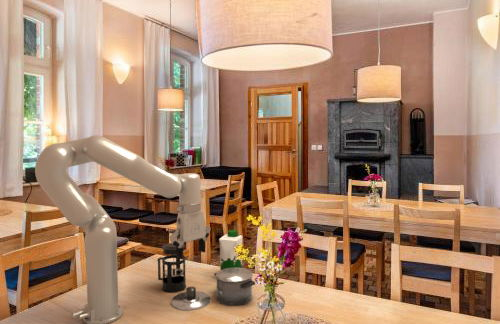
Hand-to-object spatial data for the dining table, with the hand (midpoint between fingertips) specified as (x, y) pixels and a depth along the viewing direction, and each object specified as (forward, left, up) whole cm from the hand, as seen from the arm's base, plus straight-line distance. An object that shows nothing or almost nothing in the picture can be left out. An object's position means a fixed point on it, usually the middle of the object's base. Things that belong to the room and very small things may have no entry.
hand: (191, 254), depth 129 cm
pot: (+13, -9, -17) cm, 23 cm away
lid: (0, 0, -18) cm, 18 cm away
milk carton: (+24, +5, -17) cm, 30 cm away
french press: (+2, +15, -17) cm, 23 cm away
